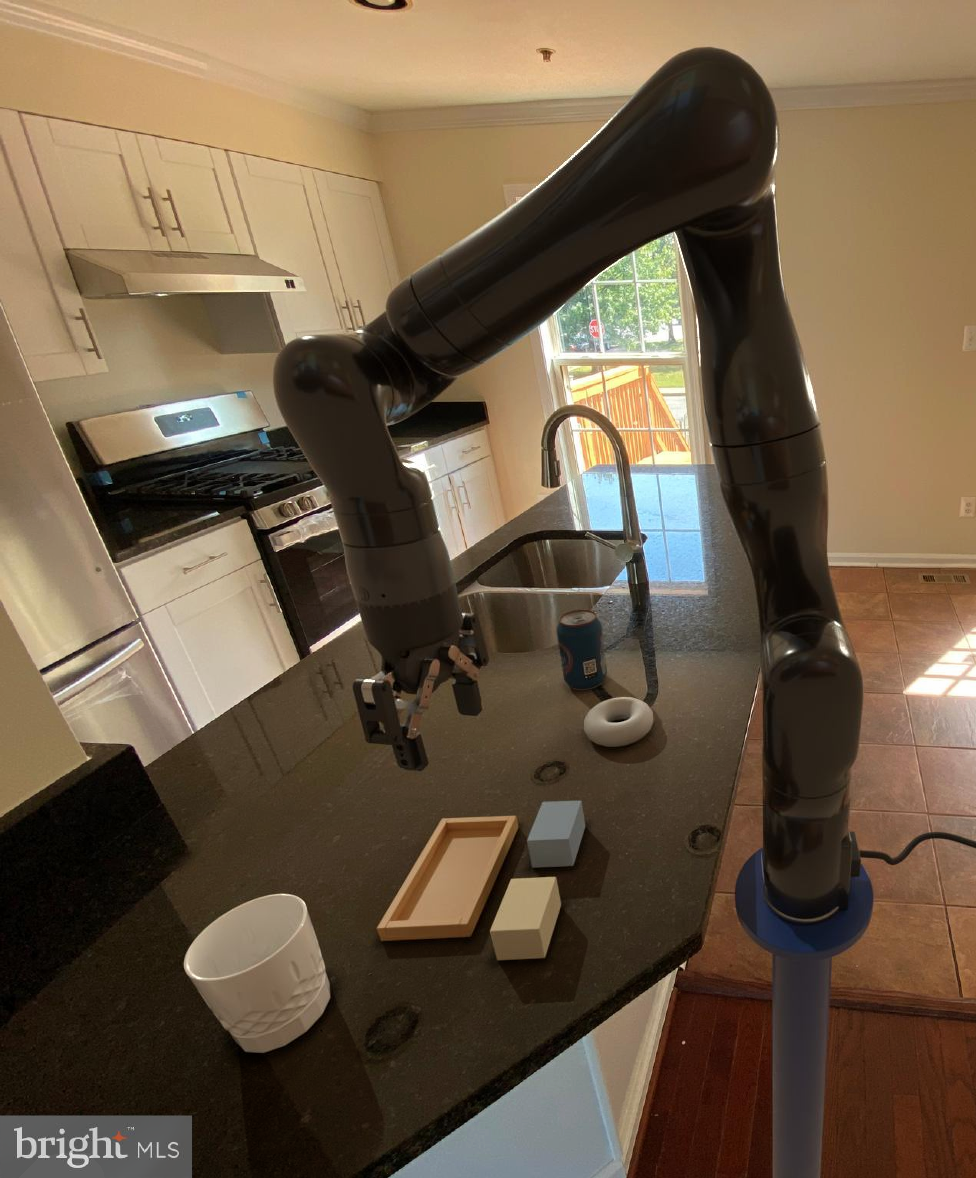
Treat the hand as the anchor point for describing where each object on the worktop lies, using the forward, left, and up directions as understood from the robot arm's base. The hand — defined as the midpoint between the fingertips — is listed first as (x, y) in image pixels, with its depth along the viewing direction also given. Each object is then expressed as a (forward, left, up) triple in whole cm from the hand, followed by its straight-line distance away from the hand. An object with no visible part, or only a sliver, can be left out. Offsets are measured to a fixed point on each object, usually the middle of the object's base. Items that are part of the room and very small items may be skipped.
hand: (445, 738), depth 61 cm
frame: (+3, -1, -19) cm, 19 cm away
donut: (-10, -27, -19) cm, 34 cm away
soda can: (-2, -41, -19) cm, 45 cm away
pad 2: (-7, -5, -19) cm, 21 cm away
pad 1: (-7, +6, -19) cm, 21 cm away
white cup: (+12, +13, -19) cm, 26 cm away
